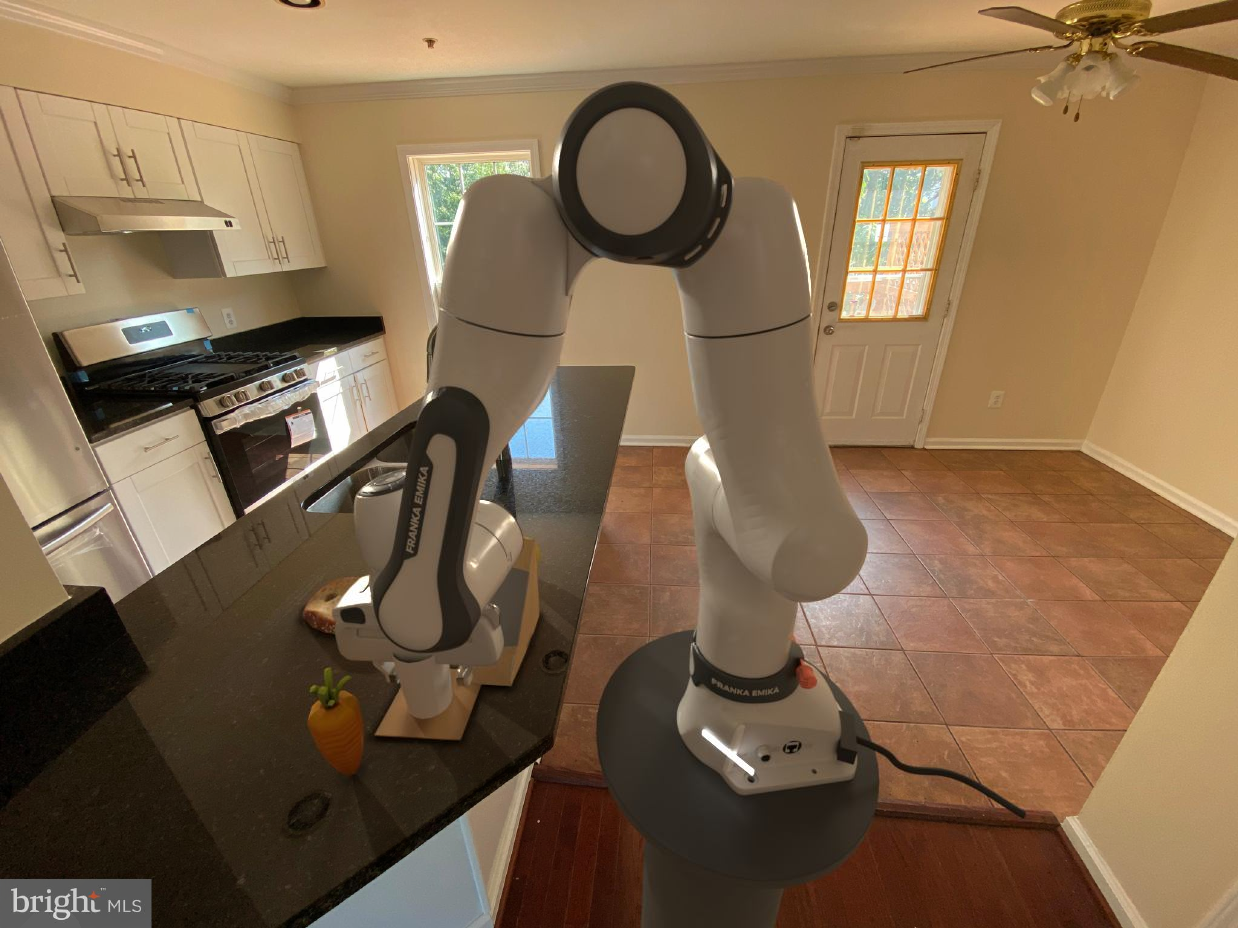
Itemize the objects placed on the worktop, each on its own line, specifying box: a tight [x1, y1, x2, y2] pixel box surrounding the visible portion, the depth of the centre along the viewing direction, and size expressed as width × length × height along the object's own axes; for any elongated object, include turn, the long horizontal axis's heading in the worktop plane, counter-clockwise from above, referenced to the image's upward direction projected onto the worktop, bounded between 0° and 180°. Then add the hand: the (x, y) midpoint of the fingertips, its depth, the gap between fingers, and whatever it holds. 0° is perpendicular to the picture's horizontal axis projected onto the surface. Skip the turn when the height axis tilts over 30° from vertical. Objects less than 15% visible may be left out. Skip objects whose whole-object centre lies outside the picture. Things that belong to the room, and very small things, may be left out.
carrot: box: [307, 666, 365, 776], centre depth 55 cm, size 5×5×15 cm
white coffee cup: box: [391, 653, 453, 719], centre depth 65 cm, size 7×7×10 cm
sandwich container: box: [456, 538, 540, 687], centre depth 74 cm, size 9×15×15 cm, turn 173°
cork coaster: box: [374, 668, 483, 741], centre depth 67 cm, size 11×11×1 cm
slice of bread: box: [301, 576, 360, 635], centre depth 84 cm, size 18×18×4 cm
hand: (430, 680), depth 66 cm, fingers open, 8 cm apart
